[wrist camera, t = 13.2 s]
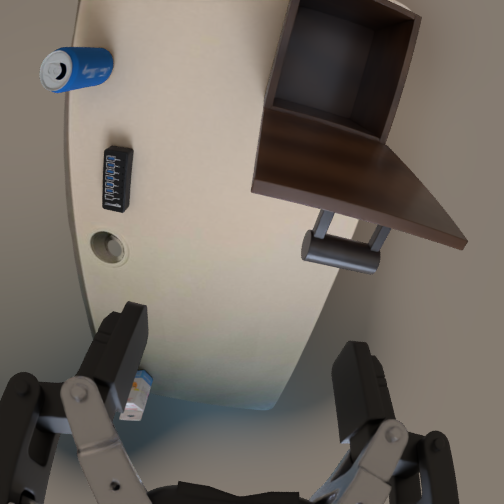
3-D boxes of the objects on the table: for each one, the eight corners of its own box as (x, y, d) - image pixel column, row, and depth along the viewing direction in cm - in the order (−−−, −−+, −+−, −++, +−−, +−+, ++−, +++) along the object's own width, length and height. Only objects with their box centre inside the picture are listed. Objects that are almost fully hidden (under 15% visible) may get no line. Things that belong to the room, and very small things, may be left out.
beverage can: (108, 88, 39) (66, 98, 29) (78, 81, 38) (33, 90, 28) (121, 51, 36) (80, 50, 26) (89, 45, 34) (44, 45, 24)
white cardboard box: (144, 369, 78) (130, 412, 66) (153, 378, 81) (141, 421, 68) (122, 370, 80) (108, 411, 68) (132, 380, 83) (119, 420, 70)
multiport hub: (133, 148, 45) (128, 152, 43) (129, 207, 51) (124, 213, 49) (110, 145, 44) (104, 148, 42) (107, 203, 50) (102, 208, 48)
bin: (289, 0, 31) (300, -30, 19) (378, 29, 32) (422, 17, 20) (263, 100, 40) (262, 111, 28) (351, 124, 41) (384, 147, 30)
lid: (253, 178, 14) (232, 268, 18) (468, 241, 15) (424, 305, 19) (263, 107, 28) (251, 159, 31) (386, 145, 29) (368, 190, 32)
